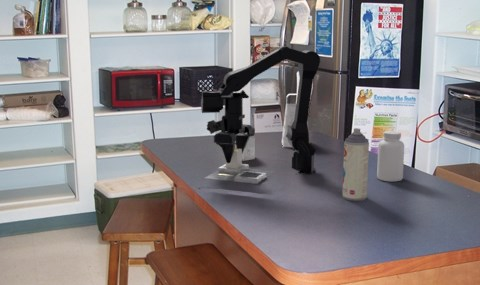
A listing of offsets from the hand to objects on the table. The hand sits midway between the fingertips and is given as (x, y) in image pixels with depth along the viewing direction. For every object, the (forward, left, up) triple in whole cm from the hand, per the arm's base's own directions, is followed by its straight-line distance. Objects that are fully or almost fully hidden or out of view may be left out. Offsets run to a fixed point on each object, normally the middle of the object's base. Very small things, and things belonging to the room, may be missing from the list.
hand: (234, 159), depth 203 cm
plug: (0, 0, -4) cm, 4 cm away
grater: (-5, -51, -5) cm, 51 cm away
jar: (+4, -18, -5) cm, 19 cm away
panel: (-4, +4, -5) cm, 7 cm away
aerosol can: (-42, +11, -5) cm, 44 cm away
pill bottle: (-48, -13, -5) cm, 50 cm away
